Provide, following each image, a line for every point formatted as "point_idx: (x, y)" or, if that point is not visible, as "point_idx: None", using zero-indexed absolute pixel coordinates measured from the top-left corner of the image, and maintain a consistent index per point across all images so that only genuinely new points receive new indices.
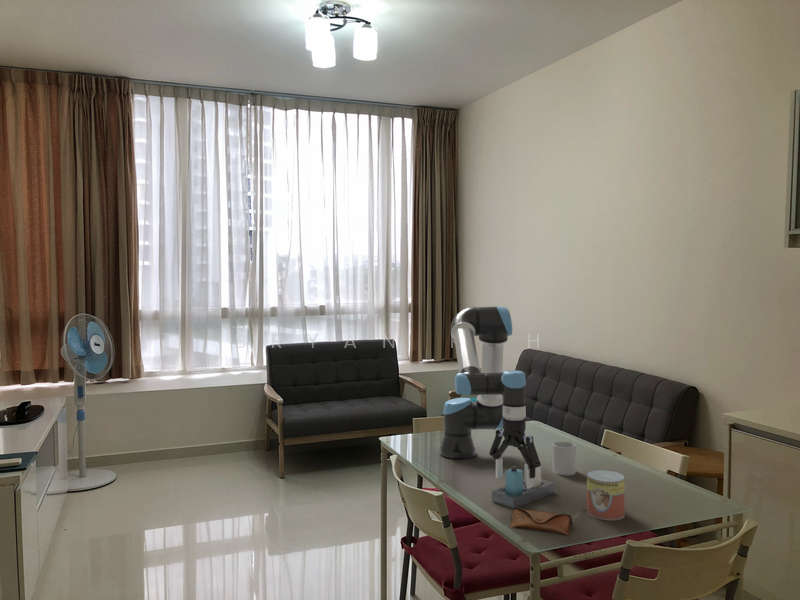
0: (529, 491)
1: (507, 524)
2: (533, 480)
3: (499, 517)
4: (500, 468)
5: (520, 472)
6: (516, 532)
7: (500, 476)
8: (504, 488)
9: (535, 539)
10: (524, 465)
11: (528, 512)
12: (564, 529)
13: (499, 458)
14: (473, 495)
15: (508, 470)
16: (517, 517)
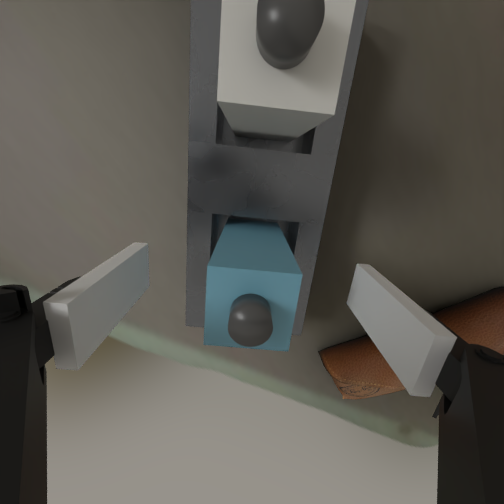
0: (316, 225)
1: (328, 390)
2: (387, 281)
3: (285, 369)
4: (121, 286)
5: (296, 295)
6: (371, 410)
7: (145, 264)
8: (204, 268)
9: (428, 413)
10: (219, 104)
11: (398, 387)
12: (501, 353)
13: (59, 332)
14: None
15: (219, 333)
16: (358, 390)
